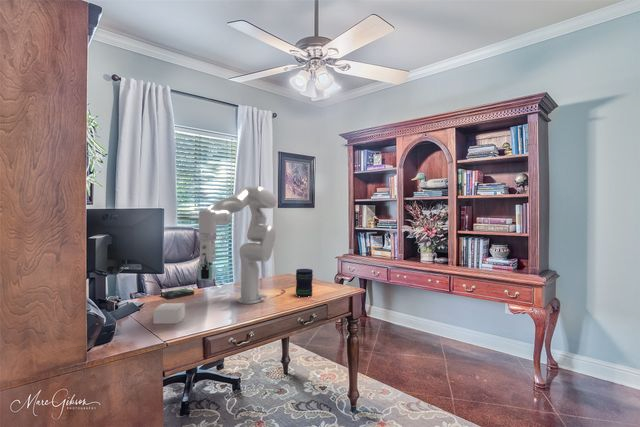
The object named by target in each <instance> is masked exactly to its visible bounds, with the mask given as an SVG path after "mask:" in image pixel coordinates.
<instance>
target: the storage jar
mask: <svg viewBox="0 0 640 427" xmlns="http://www.w3.org/2000/svg"><path fill="white" fill-rule="evenodd" d="M295 272H296V274H295V279H296V286H295V296H296V295H297V296H300V297H299V298H301V297H308V296H311V297H313V278H314V277H313V276H314V275H313V269H311V268H297V269H296V270H295ZM297 296H296V297H297ZM308 298H309V297H308Z"/></svg>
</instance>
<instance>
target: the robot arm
mask: <svg viewBox="0 0 640 427" xmlns="http://www.w3.org/2000/svg"><path fill="white" fill-rule="evenodd" d="M277 202H278V201H277V197H276V195H275V194H274V193H273V192H271V191H270V190H268V189H266V188H264V187H263V186H258V185H256V186H253V185H252V186H251V185H249V186H248V185H247V186H243V187H242V188H240V189H239V190H238V191H236V192H235V193H234V194H232V195H231V196H229V197H226V198H224V199H222V200H219V201H216V202H214V203H212V204H211V205H209V206H207V207H206V208H205V209H201V210H200V211H199V212H198V241H200V244H199V263H200V265H201V279H208V278H209V270H208V265H209V264H214V262H215V261H216V259H217V258H216V257H217V256H216V241H217V226H227V225H229V224H230V223H231V222H232V219H233V215H232V214H234V213H238V212H241V211H242V210H243V209H244V208H245V207H246V206H248V208H249V210H250V213H251V218H250V220H249V221H250V222H249V226H248V229H247V233H246V238H247V240H249V241H250V242H245V243H244V244H243V243H242V245H241V246H240V247H239V251H238V252H239V259H240V297H238V298H237V302H238V303H240V304H245V305H251V304H252V305H253V304H258V303H261V302H262V299H267V294H266V293H260V290H259V288H260V287H259V286H260V285H259V284H260V283H259V282H260V280H259V279H260V278H259V277H260V274H259V273H260V268H259V264H258V262H263V263H264V262H268V261H269V260H270V259H271V256H272V253H273V249H274V245H275V242H276V241H275V240H276V235H277V234H276V229H275V228H274V226H273V225H269V224H266V223H267V214H266V213H265V211H264V209H273V208H275V207H276V205H277ZM257 242H258V243H257ZM206 264H207V266H206Z"/></svg>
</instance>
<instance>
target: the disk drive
mask: <svg viewBox="0 0 640 427" xmlns="http://www.w3.org/2000/svg"><path fill="white" fill-rule="evenodd" d="M194 295H195V290H192V289H188V288H179V289H174V290H167V291H162V292H161V293H160V297H161V298H164V299H167V300H174V299H180V298H183V297H185V298H186V297H188V296H189V297H190V296H194Z"/></svg>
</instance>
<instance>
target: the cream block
mask: <svg viewBox="0 0 640 427" xmlns="http://www.w3.org/2000/svg"><path fill="white" fill-rule="evenodd" d="M185 316H186V303H184V302H183V303H182V302H180V303H179V302H177V303H175V302H174V303H172V302H171V303H168V302H167V303H164V302H163V303H162V304H160V305H158V306H157V307H156V308H154V309H153V316H152V317H153V320H152V321H153V324H155V325H159V324H161V325H162V324H163V325H164V324H167V325H168V324H172V325H173V324H174V325H175V324H179V322H181V321H182V320H183V319H184V318H185Z"/></svg>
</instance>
